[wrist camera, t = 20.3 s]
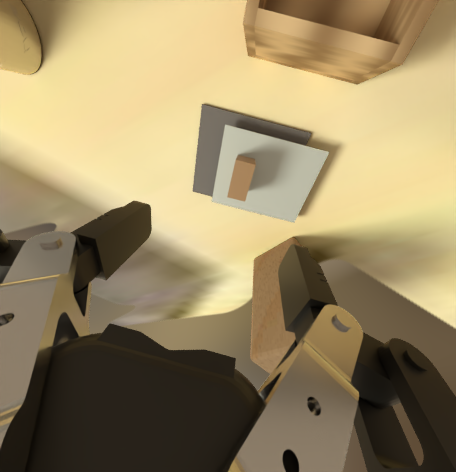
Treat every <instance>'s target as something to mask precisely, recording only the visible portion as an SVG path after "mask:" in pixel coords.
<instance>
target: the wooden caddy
mask: <svg viewBox="0 0 456 472" xmlns="http://www.w3.org/2000/svg"><path fill="white" fill-rule="evenodd" d="M438 1H439V0H247V4H246V10H245V15H244V21H243V25H244V32H245V39H246V45H247V52H248V56H251V57H255V58H259V59H262V60H266V61H270V62H274V63H278V64H281V65H285V66H289V67H293V68H297V69H301V70H304V71H308V72H312V73H316V74H320V75H323V76H327V77H331V78H335V79H339V80H342V81H346V82H350V83H354V84H359V83H361V82H364V81H366V80H368V79H370V78H373V77H375V76H377V75H379V74H382V73H384V72H386V71H389V70H391V69H393V68H395V67H398V66H400V65H402V64H403V62H404V60H405V59H406V57H407V55H408V53H409V52H410V50H411V48H412V46H413V45H414V43H415V41H416V39H417V38H418V36H419V34H420V32H421V31H422V29H423V27H424V25H425V24H426V22H427V20H428V18H429V17H430V15H431V13H432V11H433V9H434V8H435V6H436V4H437V2H438Z"/></svg>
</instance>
